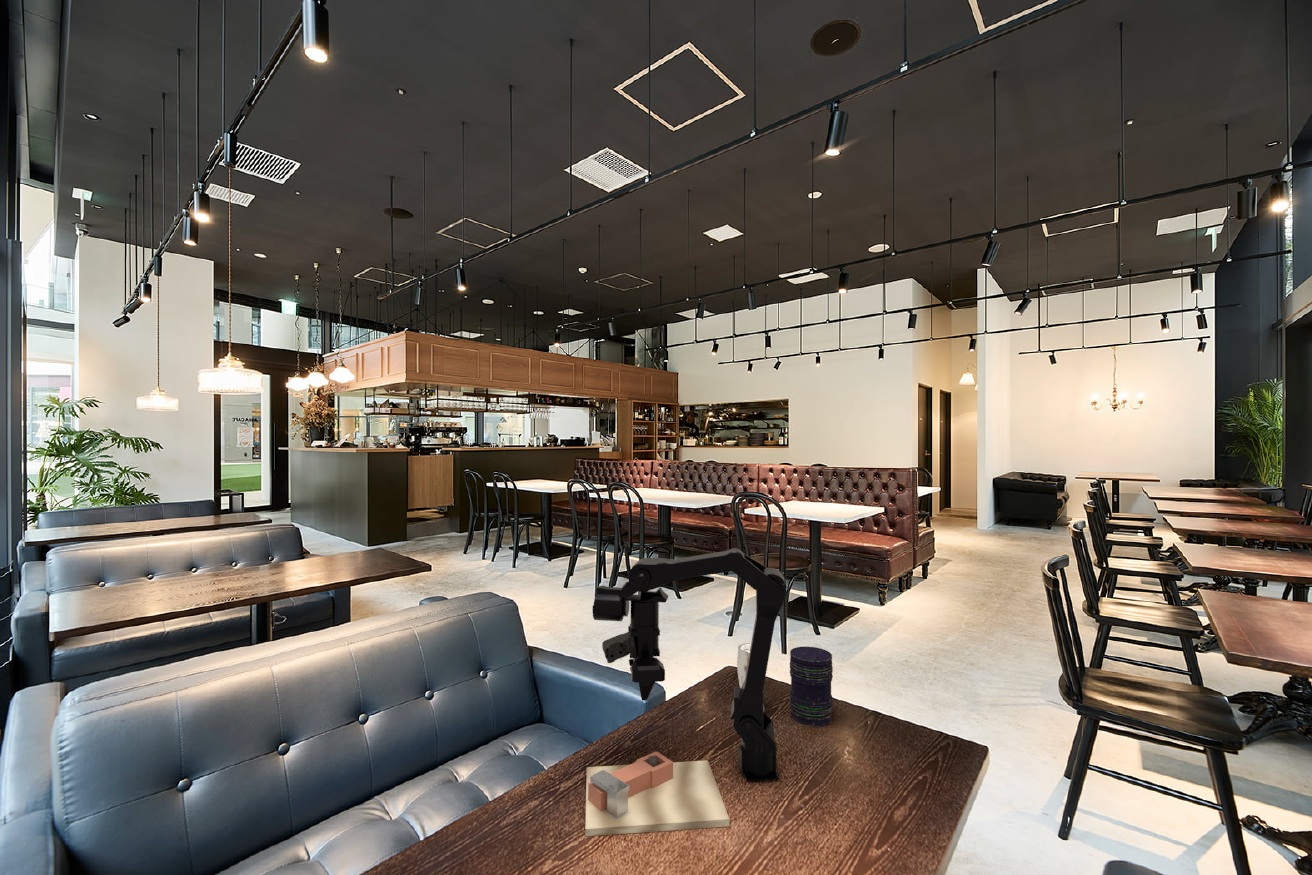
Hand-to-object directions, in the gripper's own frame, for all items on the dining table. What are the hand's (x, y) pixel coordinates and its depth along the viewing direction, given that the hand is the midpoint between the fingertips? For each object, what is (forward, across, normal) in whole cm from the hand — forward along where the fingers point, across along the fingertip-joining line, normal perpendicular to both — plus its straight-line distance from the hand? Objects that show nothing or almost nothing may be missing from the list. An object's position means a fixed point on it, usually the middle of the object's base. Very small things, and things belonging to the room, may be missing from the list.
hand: (644, 699), depth 115 cm
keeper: (+11, +16, -7) cm, 21 cm away
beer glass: (+13, -20, +28) cm, 37 cm away
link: (+11, +11, -3) cm, 16 cm away
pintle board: (+12, +12, 0) cm, 17 cm away
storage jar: (+13, -15, +41) cm, 45 cm away
